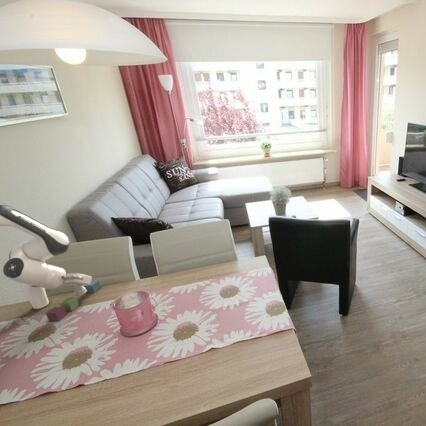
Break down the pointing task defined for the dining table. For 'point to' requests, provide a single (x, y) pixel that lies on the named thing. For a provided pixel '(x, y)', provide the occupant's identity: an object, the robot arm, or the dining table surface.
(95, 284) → the block
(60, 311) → the block
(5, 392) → the dining table surface
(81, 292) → the rook chess piece
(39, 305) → the white tall hollow cylinder
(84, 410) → the dining table surface
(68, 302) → the block
